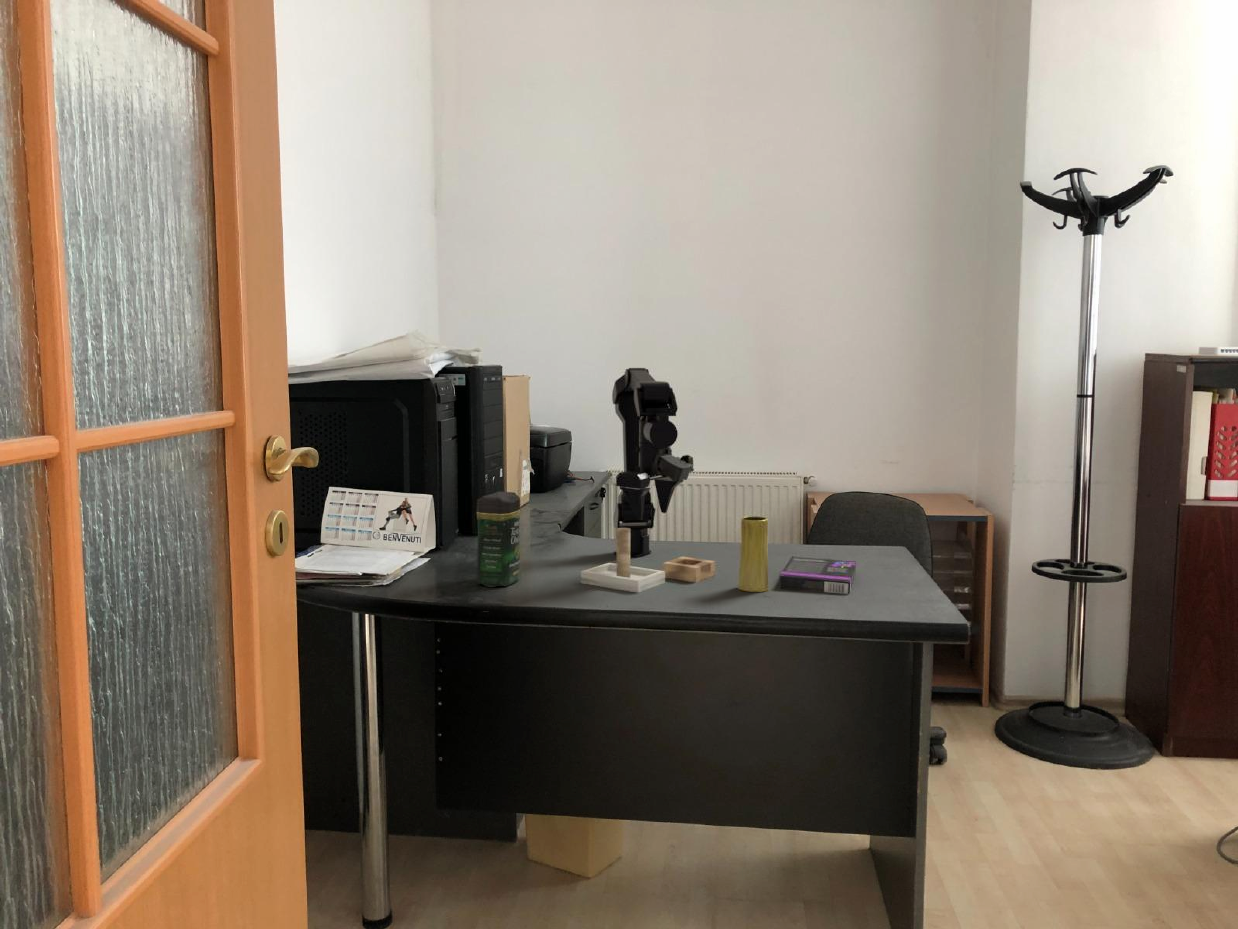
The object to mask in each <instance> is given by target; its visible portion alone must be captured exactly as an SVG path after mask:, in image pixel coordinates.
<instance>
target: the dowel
mask: <svg viewBox="0 0 1238 929" xmlns="http://www.w3.org/2000/svg"><path fill="white" fill-rule="evenodd" d="M616 551H617V554H616V564H617V567H616V576H620V577H626V578H630V566H631V556H630V528H617V529H616Z"/></svg>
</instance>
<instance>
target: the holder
mask: <svg viewBox="0 0 1238 929" xmlns="http://www.w3.org/2000/svg"><path fill="white" fill-rule="evenodd" d="M662 571H665V579H674V580H679V581H686V582H690V583H691V582H692V583H698V582H701V581H703V580H706V579H708V578H711V577H713V576H715V575H716V561H715V560H710V559H702V558H697V557H696V558H695V557H688V556H680V557H679V556H678V557H677V558H674V559H671V560H668V561H665V562H663V563H662Z"/></svg>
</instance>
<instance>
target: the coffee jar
mask: <svg viewBox="0 0 1238 929" xmlns="http://www.w3.org/2000/svg"><path fill="white" fill-rule="evenodd" d="M476 519H477V561H476V582H477V583H478V584H480V585H483V586H486V587H491V588H492V587H493V588H494V587H497V586H499V587H500V586H504V587H507V586H510V585H511V584H514V583H516V582H518V581H519V580H520V578H521V575H522V574H521V573H522V572H521V569H522V568H521V553H520V552H521V551H520V548H521V547H520V521H521V520H520V519H521V498H520V496H519V495H517V493H516V492H513V491H500V490H499V491H497V492H494V493H491V494H488V495H482V496H481V498H478V499H477V501H476Z"/></svg>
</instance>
